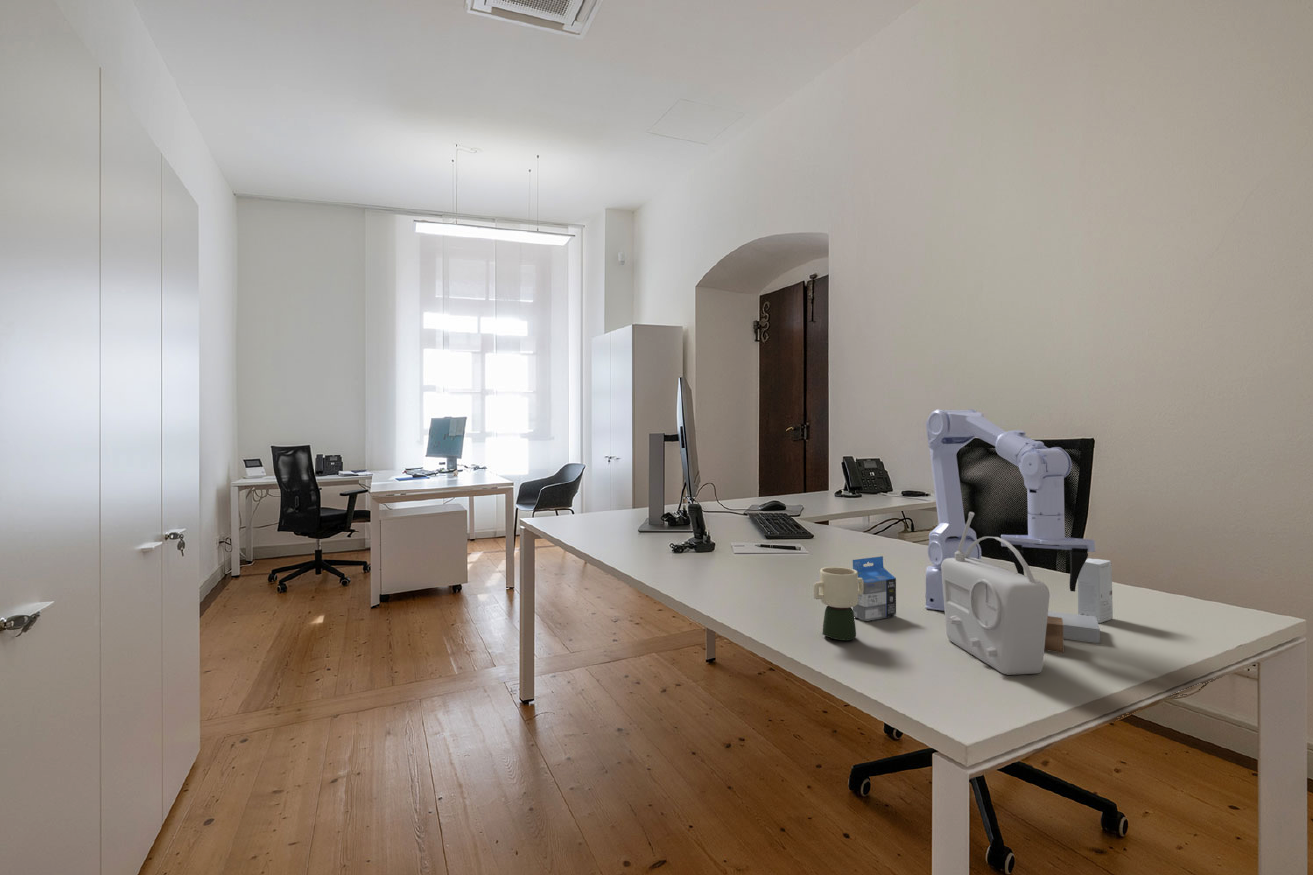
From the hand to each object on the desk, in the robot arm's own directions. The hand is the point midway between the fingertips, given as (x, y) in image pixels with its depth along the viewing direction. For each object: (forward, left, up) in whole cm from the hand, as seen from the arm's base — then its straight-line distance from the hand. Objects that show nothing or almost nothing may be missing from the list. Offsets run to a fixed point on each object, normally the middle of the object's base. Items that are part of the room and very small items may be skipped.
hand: (1047, 588), depth 114 cm
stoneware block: (+4, +11, -11) cm, 16 cm away
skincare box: (+9, +24, -11) cm, 28 cm away
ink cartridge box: (-31, +3, -11) cm, 33 cm away
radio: (-9, -11, -11) cm, 18 cm away
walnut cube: (0, 0, -11) cm, 11 cm away
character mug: (-34, -14, -11) cm, 39 cm away
